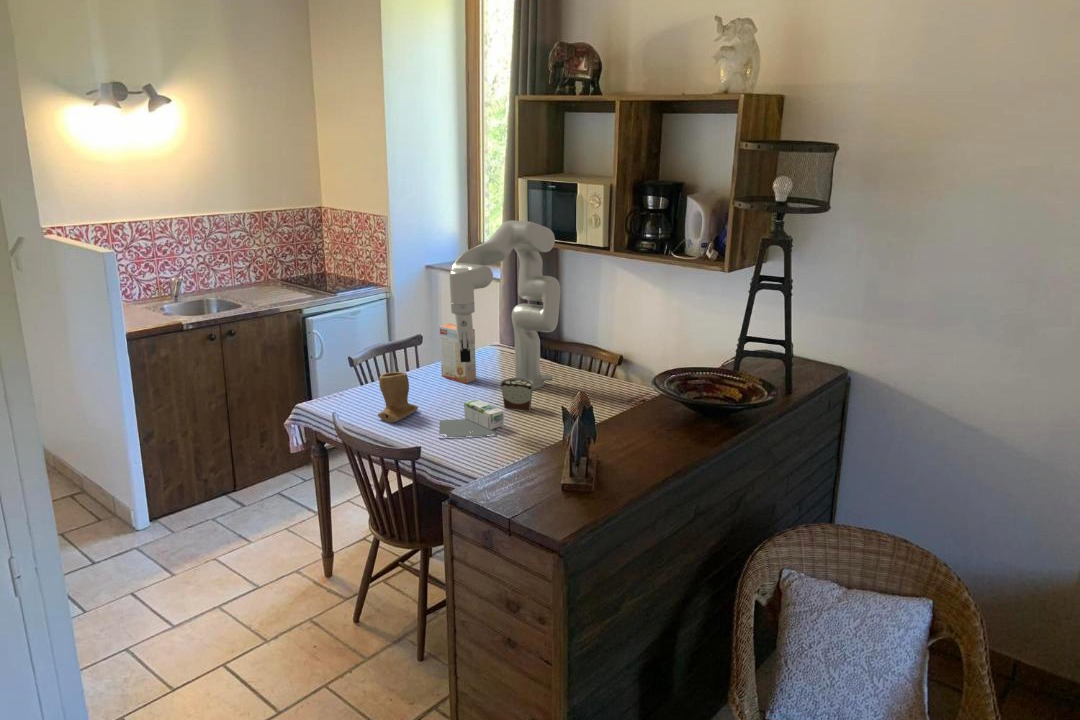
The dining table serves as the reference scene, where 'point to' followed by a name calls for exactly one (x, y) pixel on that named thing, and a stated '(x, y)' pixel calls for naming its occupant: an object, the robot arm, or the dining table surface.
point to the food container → (517, 393)
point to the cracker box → (456, 356)
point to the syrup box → (484, 414)
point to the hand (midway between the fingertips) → (465, 361)
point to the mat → (463, 428)
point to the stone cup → (395, 396)
